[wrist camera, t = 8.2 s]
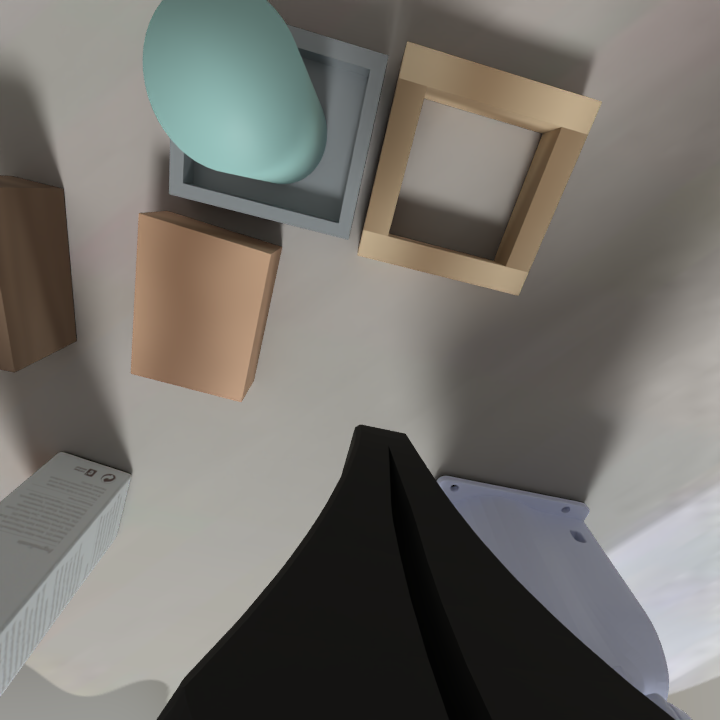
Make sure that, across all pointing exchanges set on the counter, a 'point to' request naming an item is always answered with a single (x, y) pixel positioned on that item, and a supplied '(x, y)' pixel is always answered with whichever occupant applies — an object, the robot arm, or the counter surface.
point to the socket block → (497, 101)
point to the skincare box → (52, 547)
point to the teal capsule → (233, 89)
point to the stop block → (33, 273)
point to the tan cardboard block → (200, 304)
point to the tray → (341, 156)
